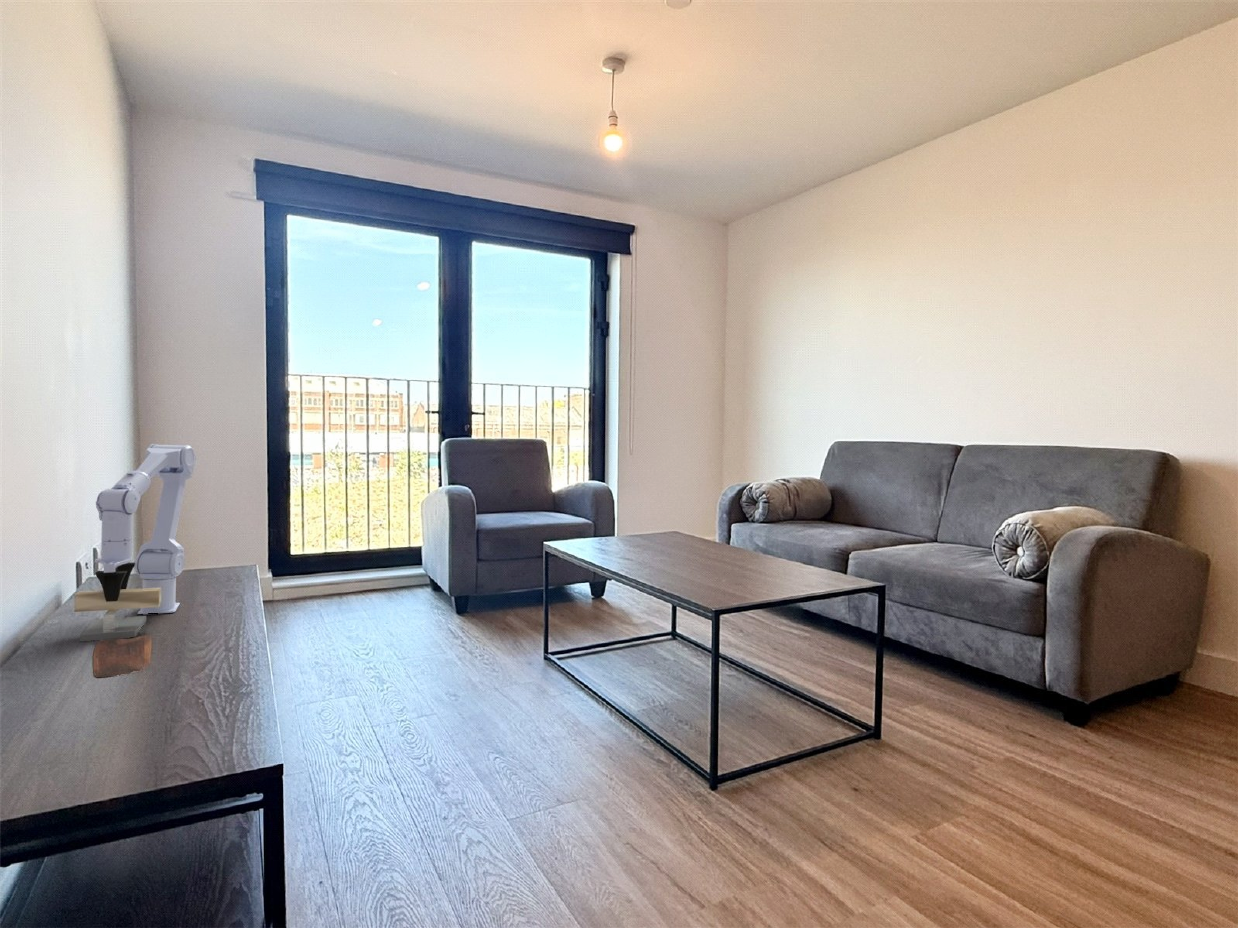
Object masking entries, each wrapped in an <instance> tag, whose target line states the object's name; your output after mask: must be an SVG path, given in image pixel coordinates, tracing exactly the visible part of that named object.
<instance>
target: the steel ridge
mask: <svg viewBox="0 0 1238 928" xmlns="http://www.w3.org/2000/svg"><path fill="white" fill-rule="evenodd" d="M126 617H127V609H117V610H106V612H105V613H103V617H102V619H103V633H106V632H114V631H115V630H116V629H117V628H118V627H119V626H120V624H121V623H122V622H123V621H124V620H125V618H126Z"/></svg>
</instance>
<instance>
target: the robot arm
mask: <svg viewBox="0 0 1238 928" xmlns="http://www.w3.org/2000/svg"><path fill="white" fill-rule="evenodd" d="M144 454H145V455H144V457H145V459H144V460H143V461H142V463H140V465H139V467H137V469H136V470H128V471H127V472H126V473H125V474H124V475H123V476H122V477H121V478H120V480H118V481H117V482H116V483H115V484H114V485H113V486H112V487H111V488H106V489H104V490H102V491H100V492H99V493H98V495H97V498H96V501H95V507H96V510H97V512H98V519H99V521H101V543H100V544H101V551H100V552H101V554H100V558H95V559H94V563H96V564H98V563H100V564H101V565H102V566H103V570H97V571H95V577H96V578H97V579H98V582H99V583H100V584H101V587H102V590H103V592H104V596H105V600H106V602H111V601H118V598H119V595H120V590H121V589H127V587H128V584H129V579H130V576H131V574H132V571H133V570H134V571H135V573H136V574H137V575H138V576H139V579H142V588H161V604H160V606H159V607H150V608H140V610H139V611H137V615H138V614H143V615H149V614H148V613H158V614H172V613H175V612H176V610H177V609H178V608H179V606H180V602H176V592H177V591H176V588H177V577H178V576H179V575H181V573H182V572H184V568H185V560H186V559H185V550H186V549H185V548H184V547H183V546H182V545H181V544H180V543H179V542H177V541H176V537H177V536H176V535H177V530H178V525H179V520H180V514H181V510H182V505H183V500H184V496H185V495H184V494H185V489H186V485H187V480H188V479H191V478H192V477H193V473H194V471H195V470H194V469H195V463H196V455H195V450H194V448H193V447H192V446H191V445H188V444H187V445H186V444H185V445H176V444H175V445H174V444H172V445H171V444H157V443H151V444H150V445H149V446H148V447H147V449H145V453H144ZM154 477H156V478H158V479H159V478H160V479H161V480H162V481H163V485H162V489H161V494H160V498H159V505H158V509H157V512H156V513H157V514H156V517H155V518H156V519H155V523H154V526H153V527H154V528H153V533H152V538H151V539H150V540H147V542H144V543H143V544H142V545H140V548H139V550H138V553H137V555H136V557H135V559H134V562H133V558H134V557H133V553H132V552H133V545H132V544H133V513H135V512H137V510H138V508H139V503H140V501H141V497H142V496H143V495H144V494H145V493H146V492H147V490H148V489H149V488H150V487H151V485H152V481H151V479H153V478H154Z"/></svg>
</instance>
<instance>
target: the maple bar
mask: <svg viewBox="0 0 1238 928" xmlns="http://www.w3.org/2000/svg"><path fill="white" fill-rule="evenodd" d="M73 601H74V603H73V605H74V606H73V607H74V608H73V612H74V613H79V612H80V613H81V612H97V611H98V612H99V611H108V610H117V609H126V610H130V609H141V608H150V607H159V606H160V604H161V588H143V587H142V588H128V589H127V588H126V589H121V590H120V595H119V598H118V601H111V602H106V600H105V596H104V592H103V589H102V590H87V591H86V590H82V591H77V592H76V593H75V594H74V599H73Z"/></svg>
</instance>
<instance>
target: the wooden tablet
mask: <svg viewBox="0 0 1238 928" xmlns="http://www.w3.org/2000/svg"><path fill="white" fill-rule="evenodd" d="M151 653H152V637H151V636H150V635H149V634H144V635H139V636H136V637H134V638H121V639H107V640H98V642H97V644H96V645H95V648H94V650H93V657H92V658H93V662H92V665H93V666H92V667H93V669H92V670H93V674H94V676H95V677H96V678H110V677H121V676H122V675H121V674H125V675H130V673H131V672H133V671H140V670H141V669H142V670H143V667H147V665H148V664H150V663H151ZM149 661H150V662H149ZM150 665H151V664H150ZM117 675H119V676H117ZM120 675H121V676H120Z"/></svg>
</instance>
